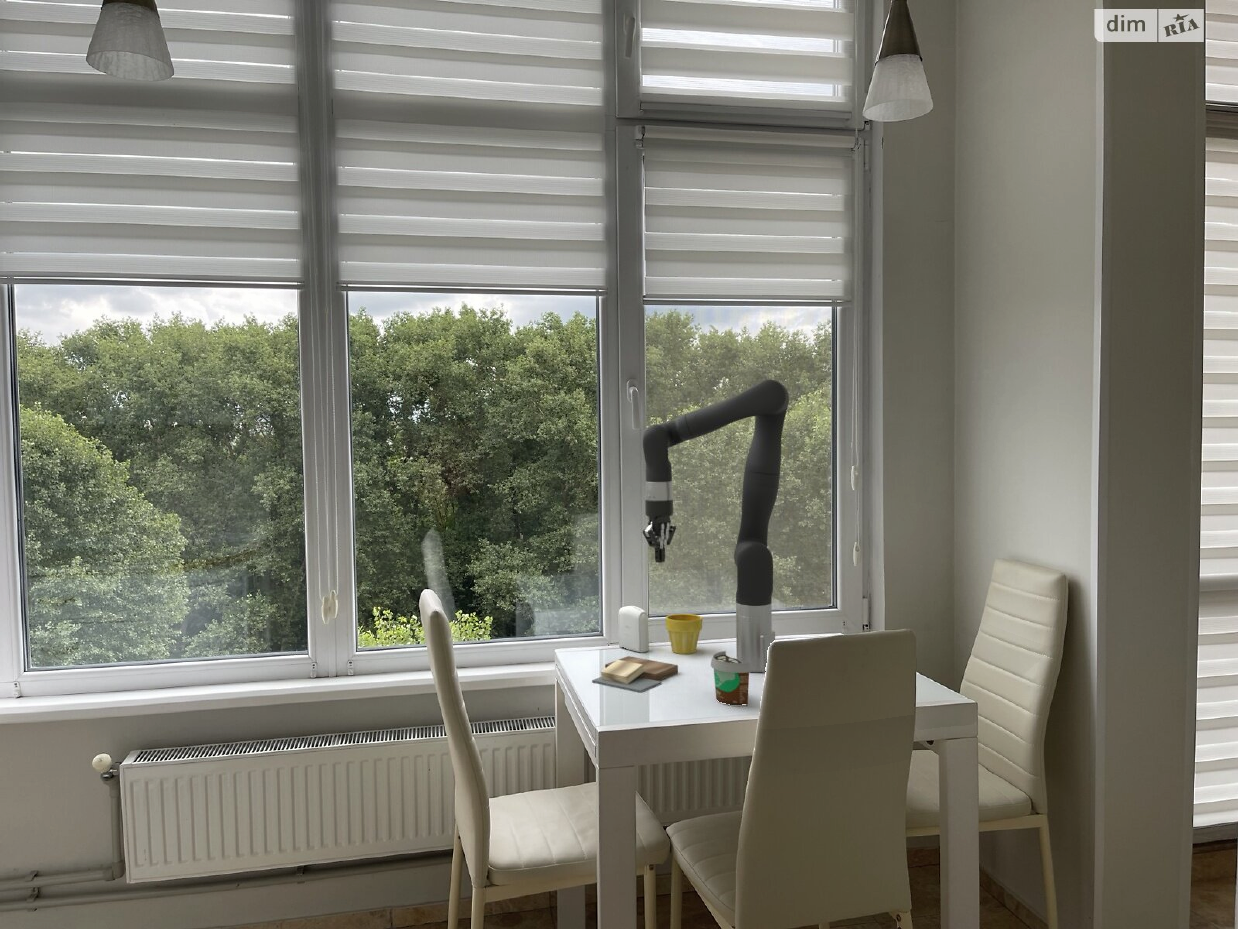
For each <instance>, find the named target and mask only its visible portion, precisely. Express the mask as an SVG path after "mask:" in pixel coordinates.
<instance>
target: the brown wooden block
mask: <svg viewBox="0 0 1238 929" xmlns="http://www.w3.org/2000/svg"><path fill="white" fill-rule="evenodd" d="M618 660H622V661H627V662H632V663H638V664H643V670H644V672H643V673H642V674H640V675H639V676H638V677H641V678H646V679H651V680H656V681H661V680H664V679H666V678H669V677H671V676H673V675H676V674H678V673H679V665H678V664H674V663H669V662H664V661H657V660H652V659H647V658H640V657H635V656H630V655H627V656H624V657H622V658H619V659H618ZM615 661H616V660H614V661H610V662H608V663H606V664H605V665H604V669H605V668H607V667H608V666H609V665H611V664H612V663H614V662H615Z"/></svg>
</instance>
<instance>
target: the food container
mask: <svg viewBox="0 0 1238 929" xmlns="http://www.w3.org/2000/svg"><path fill="white" fill-rule="evenodd" d="M710 667H711V668H712V669H713V677H714V689H715V690H714V692H715V700H716V699H717V700H718V701H719V702H722V703H726V704H730V705H742V704H748V705H749V702H748V701H749V682H750V673H752V672H751V671H750V666H749V663H741V662H740V661H739V660H737V658H735V657H730V656H728V655H727V651H726V650H724V651H719V652H716V653H714V654H713V655H712V657H711V660H710ZM717 700H716V701H717ZM718 701H717V702H718ZM719 702H718V703H719ZM730 705H729V706H730Z"/></svg>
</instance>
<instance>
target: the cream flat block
mask: <svg viewBox="0 0 1238 929" xmlns="http://www.w3.org/2000/svg"><path fill="white" fill-rule="evenodd" d="M614 661H615V662H614V663H612V664H611V665H609V666H608V667H607V668H605V667H604V669H602V670H601V671H600V675H601V676H600V677H602V679H604V680H609V681H614V682H619V683H624V684H628V683H630V682H631V681H632V680H634V679H635V678H636V677H638V676H639V675H640V674H642V673H643V672H644V670H643V664H638V663H632V662H627V661H622V660H619V659H616V660H614Z"/></svg>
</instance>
